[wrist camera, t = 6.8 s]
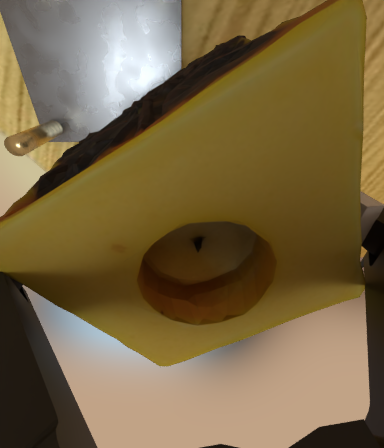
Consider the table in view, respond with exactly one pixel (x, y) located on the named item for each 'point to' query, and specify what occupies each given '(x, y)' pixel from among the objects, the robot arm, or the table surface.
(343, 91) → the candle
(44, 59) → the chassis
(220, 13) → the table surface
